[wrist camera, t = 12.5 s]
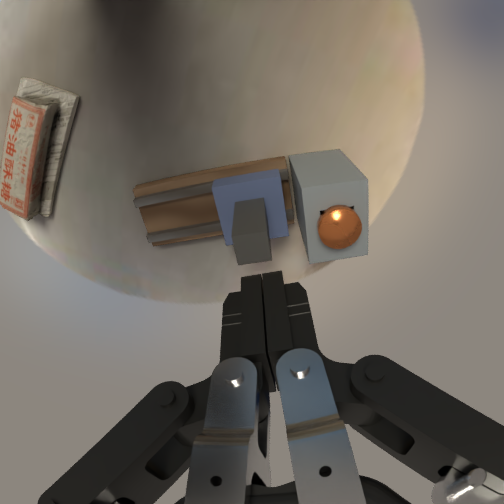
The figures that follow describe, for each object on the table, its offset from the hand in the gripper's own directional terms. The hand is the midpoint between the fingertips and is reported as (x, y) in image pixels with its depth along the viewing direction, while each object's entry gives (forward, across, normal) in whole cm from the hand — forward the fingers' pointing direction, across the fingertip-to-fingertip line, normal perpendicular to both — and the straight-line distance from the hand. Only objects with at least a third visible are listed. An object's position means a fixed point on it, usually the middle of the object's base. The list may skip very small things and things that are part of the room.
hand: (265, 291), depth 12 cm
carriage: (+23, +1, +8) cm, 25 cm away
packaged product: (+27, +28, -6) cm, 39 cm away
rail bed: (+26, +6, +8) cm, 28 cm away
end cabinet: (+26, -7, +8) cm, 28 cm away
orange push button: (+21, -7, +8) cm, 23 cm away
